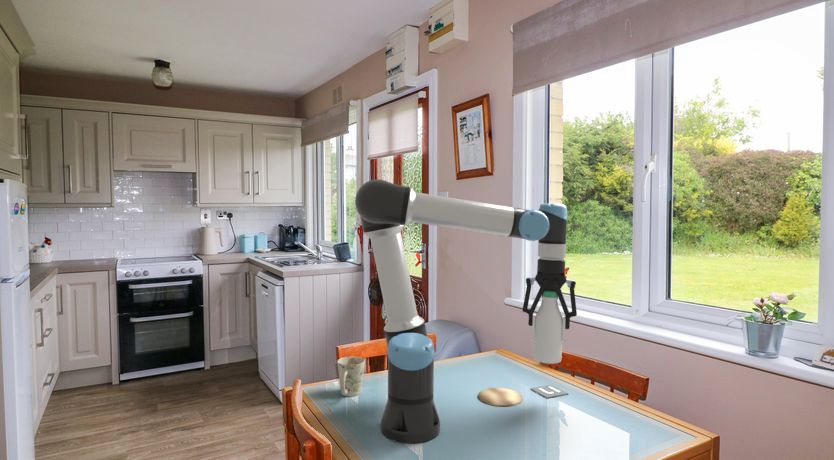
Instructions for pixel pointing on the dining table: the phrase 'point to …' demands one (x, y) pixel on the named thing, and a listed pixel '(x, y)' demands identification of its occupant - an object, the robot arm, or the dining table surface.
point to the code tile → (549, 391)
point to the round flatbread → (500, 397)
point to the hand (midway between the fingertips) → (548, 338)
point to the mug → (351, 375)
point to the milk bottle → (548, 330)
